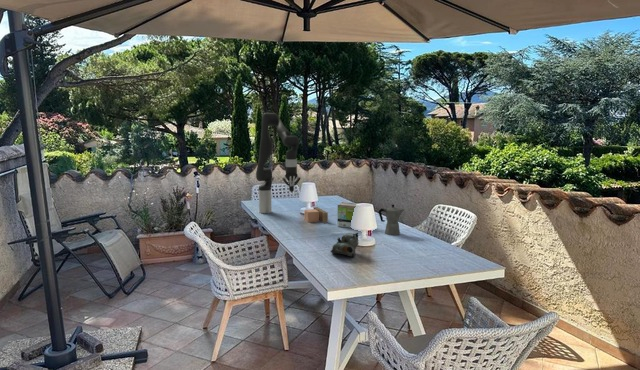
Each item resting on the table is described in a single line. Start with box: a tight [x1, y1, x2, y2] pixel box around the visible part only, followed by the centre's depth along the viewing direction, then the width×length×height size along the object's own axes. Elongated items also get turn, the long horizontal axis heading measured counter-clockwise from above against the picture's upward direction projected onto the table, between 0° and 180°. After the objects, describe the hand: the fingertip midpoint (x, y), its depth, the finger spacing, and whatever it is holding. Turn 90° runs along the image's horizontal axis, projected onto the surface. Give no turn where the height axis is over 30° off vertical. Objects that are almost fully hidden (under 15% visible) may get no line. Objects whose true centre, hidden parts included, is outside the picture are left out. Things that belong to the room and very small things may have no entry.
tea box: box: [336, 201, 359, 229], centre depth 279 cm, size 15×10×15 cm, turn 68°
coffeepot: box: [377, 204, 404, 236], centre depth 260 cm, size 15×9×18 cm, turn 92°
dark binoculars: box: [330, 232, 359, 258], centre depth 220 cm, size 15×12×14 cm
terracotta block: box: [303, 208, 320, 223], centre depth 296 cm, size 8×8×7 cm
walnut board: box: [313, 206, 329, 224], centre depth 298 cm, size 20×3×7 cm, turn 20°
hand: (291, 191), depth 288 cm, fingers closed
